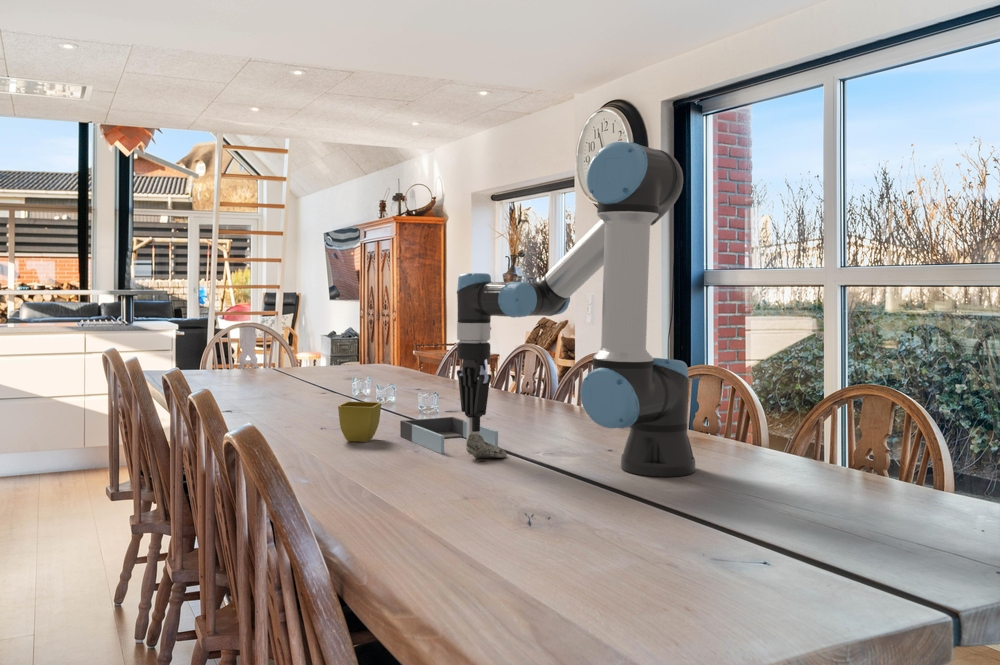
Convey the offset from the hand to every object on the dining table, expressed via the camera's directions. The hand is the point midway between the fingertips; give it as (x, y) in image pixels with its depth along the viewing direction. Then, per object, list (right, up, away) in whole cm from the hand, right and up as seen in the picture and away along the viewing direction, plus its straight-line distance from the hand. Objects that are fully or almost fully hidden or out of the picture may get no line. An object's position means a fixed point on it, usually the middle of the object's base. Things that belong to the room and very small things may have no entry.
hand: (473, 445), depth 187 cm
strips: (-5, -1, +9) cm, 10 cm away
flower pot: (-28, -1, +14) cm, 31 cm away
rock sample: (+3, -2, -5) cm, 6 cm away
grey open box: (-11, -1, +20) cm, 23 cm away
